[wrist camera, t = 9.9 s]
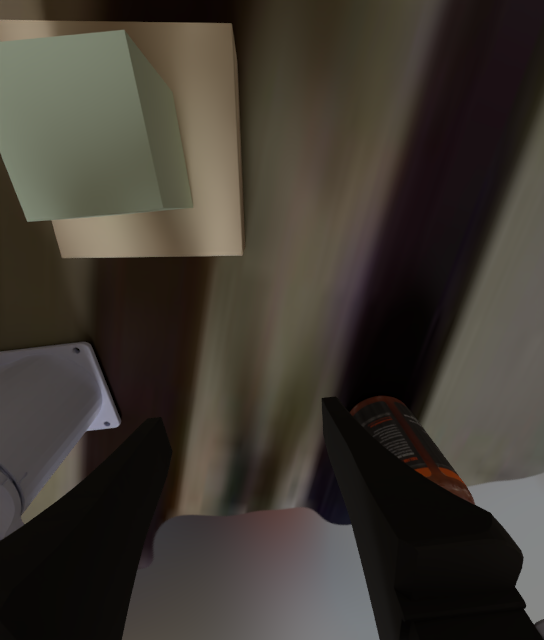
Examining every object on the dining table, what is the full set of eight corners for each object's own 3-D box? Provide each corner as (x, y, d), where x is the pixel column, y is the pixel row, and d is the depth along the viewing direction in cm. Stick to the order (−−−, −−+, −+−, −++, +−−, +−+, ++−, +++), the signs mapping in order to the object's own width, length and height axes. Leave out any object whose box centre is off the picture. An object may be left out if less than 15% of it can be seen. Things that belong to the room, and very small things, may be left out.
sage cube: (99, 216, 15) (27, 221, 10) (64, 102, 13) (-43, 46, 8) (193, 207, 15) (163, 208, 10) (172, 92, 13) (124, 29, 8)
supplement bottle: (329, 429, 26) (378, 582, 15) (370, 381, 24) (456, 517, 14) (379, 452, 27) (456, 608, 17) (421, 409, 25) (536, 552, 15)
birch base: (99, 248, 19) (62, 257, 16) (57, 63, 16) (-6, 19, 12) (245, 246, 20) (242, 255, 16) (238, 65, 16) (231, 23, 12)
